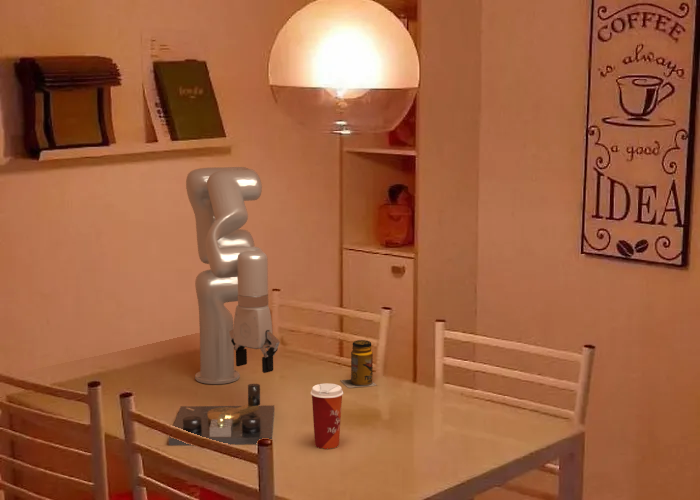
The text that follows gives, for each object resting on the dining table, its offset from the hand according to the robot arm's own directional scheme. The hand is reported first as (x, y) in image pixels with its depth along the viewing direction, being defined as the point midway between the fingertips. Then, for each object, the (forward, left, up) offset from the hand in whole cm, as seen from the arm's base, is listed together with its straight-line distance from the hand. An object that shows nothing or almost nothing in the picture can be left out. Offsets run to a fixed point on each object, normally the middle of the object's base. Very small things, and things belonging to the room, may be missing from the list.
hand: (254, 368), depth 261 cm
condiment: (-29, +28, -13) cm, 43 cm away
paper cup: (+20, +18, -13) cm, 30 cm away
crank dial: (+4, -5, -11) cm, 13 cm away
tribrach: (+7, -7, -13) cm, 16 cm away
